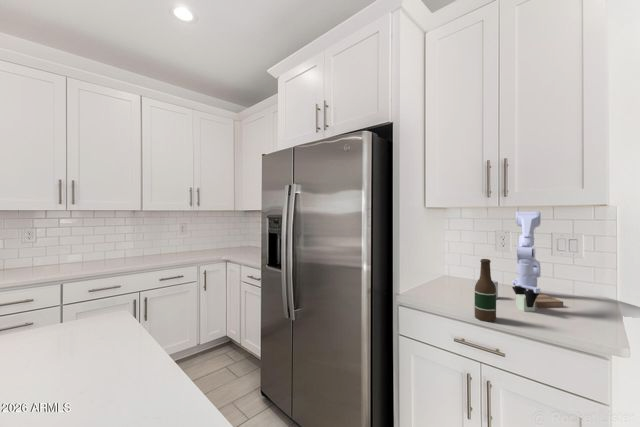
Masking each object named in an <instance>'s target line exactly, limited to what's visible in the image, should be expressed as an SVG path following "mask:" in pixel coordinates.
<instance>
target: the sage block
mask: <svg viewBox="0 0 640 427" xmlns="http://www.w3.org/2000/svg"><path fill="white" fill-rule="evenodd" d="M515 309H518V310H520V311H521V312H524V311H525V312H536V307H535V302H534V305H533V307H527V304H526V296H525V294H515Z"/></svg>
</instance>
